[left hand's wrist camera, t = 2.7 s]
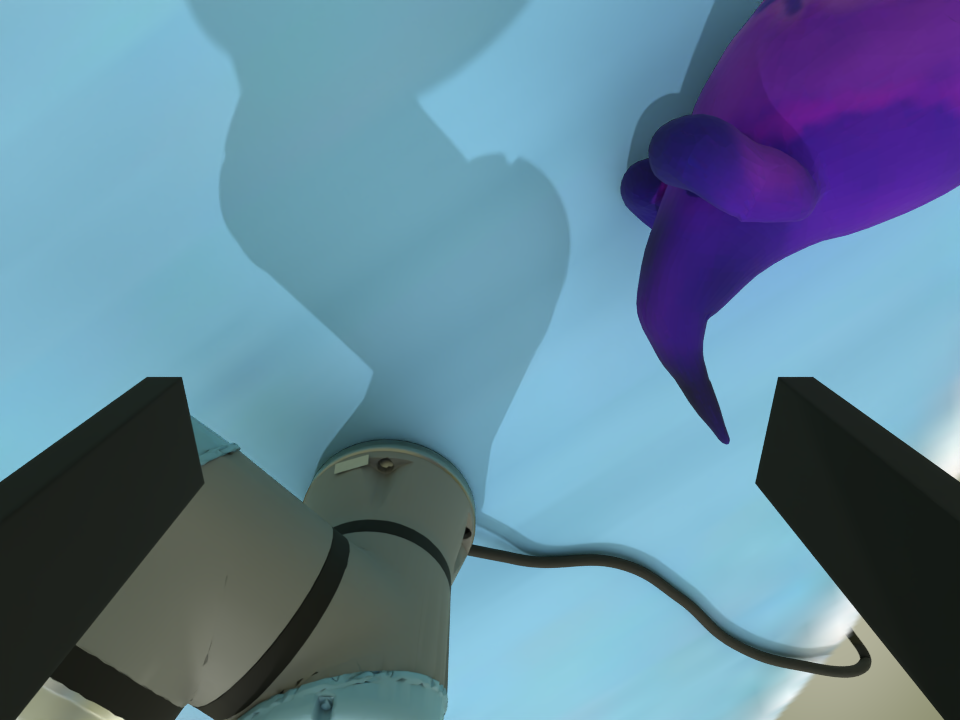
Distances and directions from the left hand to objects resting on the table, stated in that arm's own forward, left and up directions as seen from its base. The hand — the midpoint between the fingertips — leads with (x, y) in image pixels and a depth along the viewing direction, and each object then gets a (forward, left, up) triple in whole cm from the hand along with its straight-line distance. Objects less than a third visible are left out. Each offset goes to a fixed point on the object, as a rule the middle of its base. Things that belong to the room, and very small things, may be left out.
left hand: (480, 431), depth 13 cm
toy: (-9, -17, -31) cm, 36 cm away
